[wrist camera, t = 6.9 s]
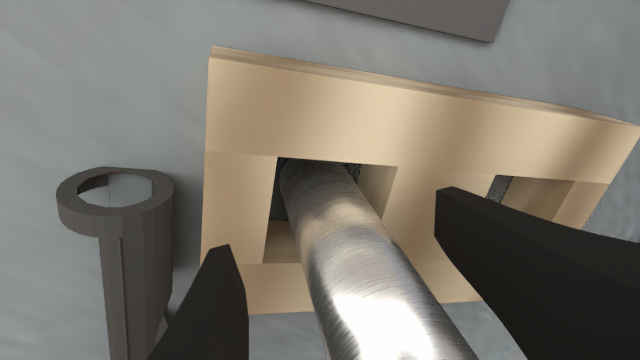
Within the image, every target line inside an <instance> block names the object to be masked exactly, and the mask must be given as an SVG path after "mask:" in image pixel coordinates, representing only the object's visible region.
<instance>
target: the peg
mask: <svg viewBox="0 0 640 360" xmlns="http://www.w3.org/2000/svg"><path fill="white" fill-rule="evenodd" d="M279 187H280V191H281V194H282V198H283V201H284V205H285V208H286V212H287V215H288V219H289V223H290V226H291V230H292V233H293V237H294V240H295V244H296V247H297V251H298V254H299V258H300V261H301V265H302V269H303V272H304V276H305V279H306V283H307V286H308V290H309V293H310V297H311V300H312V304H313V307H314V311H315V315H316V318H317V322H318V325H319V329H320V332H321V336H322V339H323V343H324V346H325V350H326V353H327V357H328V360H479V359H478V358H477V356H476V355H475V353H474V352H473V350H472V349H471V348H470V346H469V345H468V343H467V342H466V340H465V339H464V338H463V336H462V335H461V333H460V332H459V331H458V329H457V328H456V326H455V325H454V323H453V322H452V321H451V319H450V318H449V316H448V315H447V313H446V312H445V311H444V309H443V308H442V306H441V305H440V303H439V302H438V301H437V299H436V298H435V296H434V295H433V293H432V292H431V291H430V289H429V288H428V286H427V285H426V283H425V282H424V281H423V279H422V278H421V276H420V275H419V274H418V272H417V271H416V269H415V268H414V266H413V265H412V264H411V262H410V261H409V259H408V258H407V256H406V255H405V254H404V252H403V251H402V249H401V248H400V246H399V245H398V244H397V242H396V241H395V239H394V238H393V236H392V235H391V234H390V232H389V231H388V229H387V228H386V227H385V225H384V224H383V222H382V221H381V219H380V218H379V217H378V215H377V214H376V212H375V211H374V209H373V208H372V207H371V205H370V204H369V202H368V201H367V199H366V198H365V197H364V195H363V194H362V192H361V191H360V189H359V188H358V187H357V185H356V184H355V182H354V181H353V179H352V178H351V177H350V175H349V174H348V172H347V171H346V170H345V168H344V167H343V165H342V164H341V162H337V161H324V160H312V159H300V158H289V159H288V160H287V161H286V162H285V164H284V165H283V167H282V169H281V171H280V174H279Z"/></svg>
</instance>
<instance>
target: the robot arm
mask: <svg viewBox="0 0 640 360" xmlns="http://www.w3.org/2000/svg"><path fill="white" fill-rule="evenodd" d="M434 237H435V239H436V240H437V242H438V243H439V245H440V247H441V248H442V250H443V251H444V253H445V254H446V256H447V257H448V259H449V260H450V261H451V262H452V264H453V265H454V266H455V267H456V268H457V270H458V271H459V272H460V273H461V274H462V276H463V277H464V278H465V279H466V280H467V281H468V283H469V284H470V285H471V286H472V287H473V288H474V290H475V291H476V292H477V293H478V294H479V295H480V297H481V298H482V299H483V300H484V301H485V302H486V303H487V305H488V306H489V307H490V308H491V309H492V310H493V312H494V313H495V314H496V316H497V317H498V318H499V319H500V321H501V322H502V323H503V325H504V326H505V327H506V329H507V330H508V332H509V333H510V334H511V336H512V337H513V339H514V340H515V342H516V343H517V344H518V346H519V347H520V349H521V350H522V352H523V353H524V355H525V356H526V358H527V359H528V360H640V243H636V242H631V241H626V240H621V239H616V238H611V237H607V236H603V235H598V234H594V233H591V232H587V231H583V230H579V229H575V228H572V227H568V226H565V225H561V224H558V223H554V222H551V221H548V220H545V219H542V218H539V217H536V216H533V215H530V214H527V213H524V212H522V211H519V210H516V209H513V208H511V207H508V206H505V205H503V204H500V203H497V202H495V201H492V200H489V199H487V198H484V197H482V196H479V195H476V194H474V193H471V192H468V191H466V190H463V189H460V188H457V187H454V186H450V187H446V188H442V189H438V190H436V201H435V221H434ZM146 360H249V317H248V307H247V299H246V291H245V286H244V284H243V281H242V278H241V275H240V272H239V270H238V267H237V264H236V261H235V258H234V256H233V253H232V250H231V247H230V244H226V245H222V246H218V247H214V248H210V249H209V251H208V252H207V254H206V256H205V259H204V261H203V263H202V265H201V267H200V269H199V271H198V273H197V275H196V277H195V279H194V281H193V283H192V285H191V287H190V289H189V291H188V292H187V294H186V296H185V298H184V300H183V302H182V304H181V305H180V307H179V309H178V311H177V312H176V314H175V315H174V317H173V319H172V320H171V322H170V324H169V325H168V327H167V329H166V330H165V332H164V334H163V335H162V337H161V338H160V340H159V341H158V343H157V344H156V346H155V347H154V349H153V350H152V352H151V353H150V354H149V356H148V357H147V359H146Z"/></svg>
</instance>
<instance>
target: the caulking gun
mask: <svg viewBox="0 0 640 360" xmlns="http://www.w3.org/2000/svg"><path fill="white" fill-rule="evenodd" d="M120 172H126V173H133V174H140V175H143V176H145V177H148V178H150V179H152V197H151V198H149V199H148V200H146V201H144V202H141V203H138V204H135V205H131V206H126V207H121V208H116V207H102V206H98V205H93V204H89V203H86V202H85V201H84V200H82V199H81V198H80V197H78V196H77V195H79V194H80V193H83V192H85V191H88V190H90V189H93V188H97V187H101V186H106V185H109V182H108V174H109V173H120ZM109 198H110V195H109ZM56 199H57V205H58V212H59V217H60V219H61V222H62V223H63V224H64V225H65V226H66V227H67V228H68V229H70V230H72V231H74V232H76V233H78V234H82V235H86V236H90V237H98V238H99V247H100V257H101V267H102V277H103V288H104V298H105V308H106V318H107V328H108V338H109V348H110V358H111V360H146V359H147V357H148V356H149V354H150V353H151V352H152V350H153V349H154V347H155V346H156V344H157V343H158V341H159V340H160V338H161V337H162V335H163V334H164V332H165V330H166V329H167V327H168V322H167V320H166V318H165V316H164V313H165V311H166V308H167V305H168V302H169V299H170V296H171V292H172V271H173V214H174V185H173V183H172V181H171V180H170V179H169V178H168V177H167V176H166V175H164V174H162V173H160V172H158V171H155V170H144V169H130V168H117V167H98V168H94V169H89V170H86V171H83V172H80V173H77V174H75V175H73V176H71V177H69V178H67V179H66V180H65V181H63V182H62V183H61V184H60V185H59V187H58V188H57V192H56Z"/></svg>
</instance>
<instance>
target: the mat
mask: <svg viewBox="0 0 640 360" xmlns="http://www.w3.org/2000/svg"><path fill="white" fill-rule="evenodd" d="M304 1H309V2H313V3H318V4H322V5H326V6H331V7H335V8H339V9H344V10H348V11H353V12H357V13H361V14H366V15H370V16H374V17H379V18H383V19H388V20H392V21H396V22H401V23H405V24H409V25H414V26H418V27H423V28H427V29H431V30H436V31H440V32H444V33H449V34H453V35H457V36H462V37H466V38H471V39H475V40H479V41H484V42H488V43H493V42H494V39H495V37H496V34H497V32H498V29H499V26H500V24H501V21H502V19H503V16H504V13H505V11H506V8H507V6H508V3H509V0H304Z"/></svg>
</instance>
